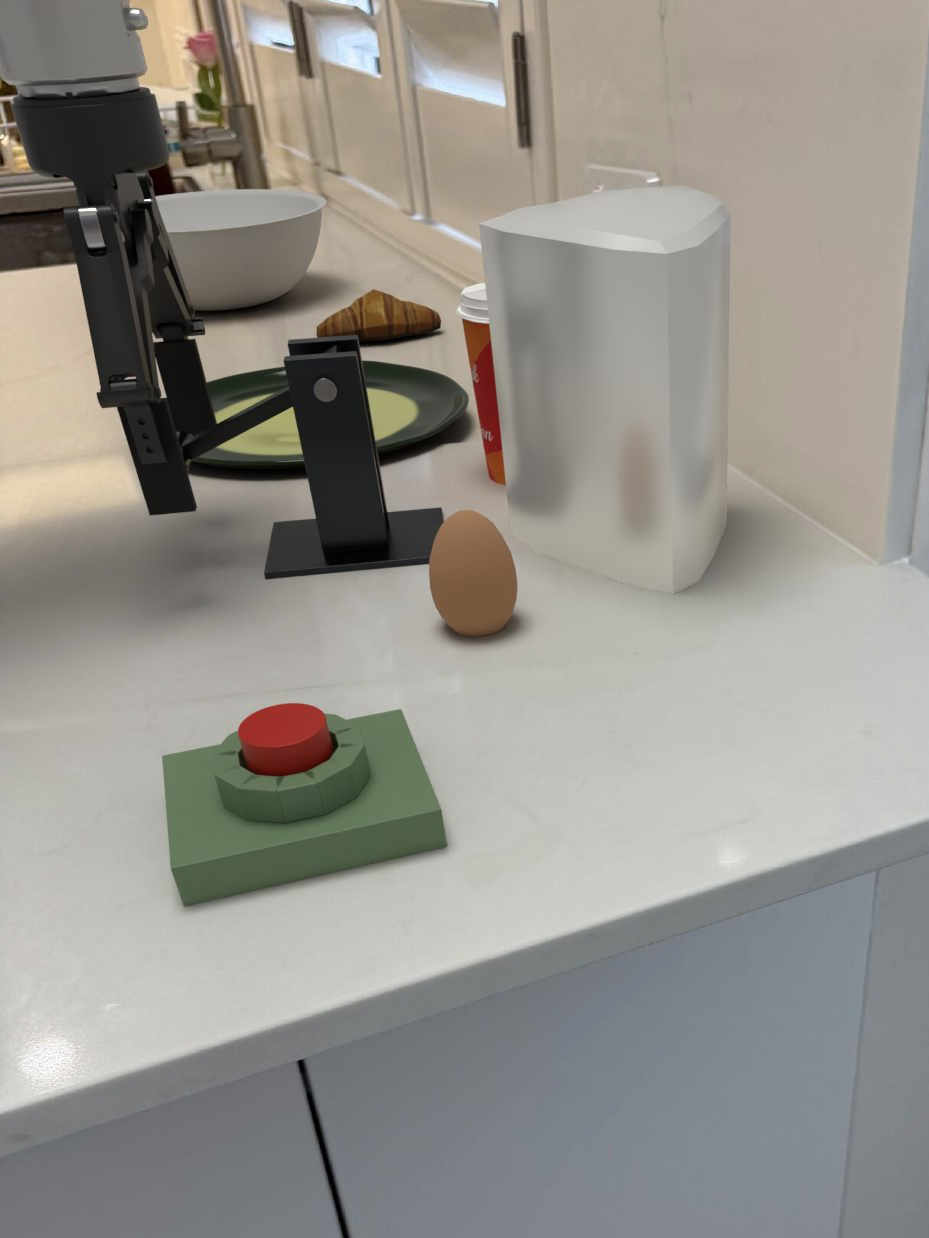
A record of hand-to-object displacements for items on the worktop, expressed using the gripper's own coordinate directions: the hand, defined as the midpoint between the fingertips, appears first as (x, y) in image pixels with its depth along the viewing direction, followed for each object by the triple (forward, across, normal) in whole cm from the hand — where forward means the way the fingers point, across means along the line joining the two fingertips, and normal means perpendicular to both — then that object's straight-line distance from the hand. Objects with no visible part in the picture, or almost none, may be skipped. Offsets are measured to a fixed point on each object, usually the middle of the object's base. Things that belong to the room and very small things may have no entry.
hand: (187, 474), depth 79 cm
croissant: (+7, +59, -11) cm, 61 cm away
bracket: (+7, 0, -10) cm, 12 cm away
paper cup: (+7, +11, -23) cm, 26 cm away
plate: (+7, +28, -5) cm, 30 cm away
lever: (-2, 0, -6) cm, 6 cm away
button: (+3, -32, -8) cm, 33 cm away
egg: (+7, -14, -17) cm, 24 cm away
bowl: (+7, +82, +7) cm, 82 cm away
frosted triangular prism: (+7, -3, -30) cm, 31 cm away
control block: (+7, -32, -8) cm, 34 cm away
